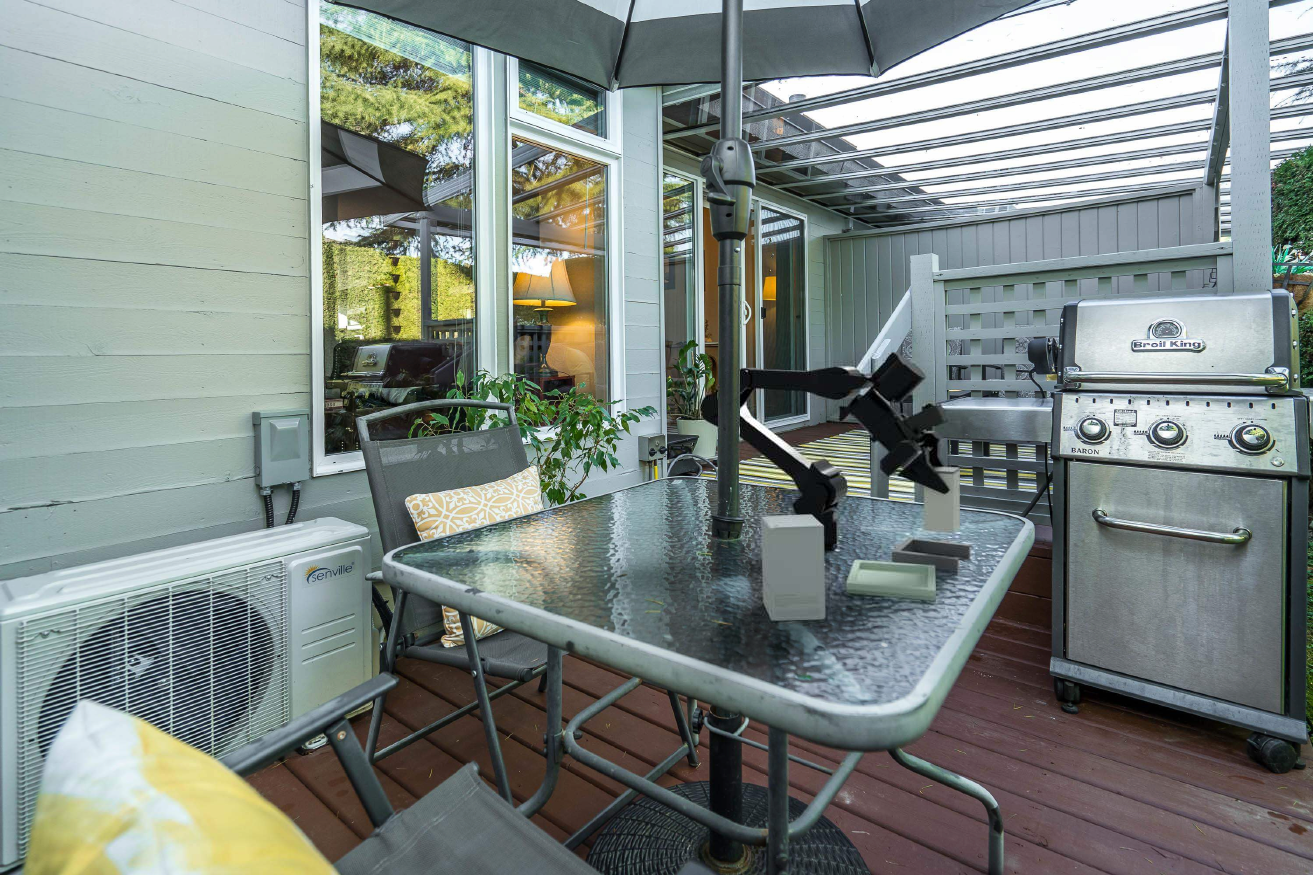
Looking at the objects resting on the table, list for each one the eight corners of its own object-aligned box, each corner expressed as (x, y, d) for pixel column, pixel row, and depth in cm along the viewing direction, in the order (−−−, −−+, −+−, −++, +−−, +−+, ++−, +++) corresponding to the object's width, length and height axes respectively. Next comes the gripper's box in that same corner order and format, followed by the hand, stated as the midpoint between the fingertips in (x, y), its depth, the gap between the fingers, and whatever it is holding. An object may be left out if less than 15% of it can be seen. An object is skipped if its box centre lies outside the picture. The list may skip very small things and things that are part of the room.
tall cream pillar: (924, 530, 108) (923, 470, 107) (930, 524, 112) (930, 466, 111) (953, 533, 106) (953, 471, 105) (959, 527, 109) (959, 467, 108)
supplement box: (826, 620, 86) (825, 525, 85) (770, 621, 87) (767, 527, 85) (814, 600, 94) (813, 513, 92) (762, 602, 94) (760, 515, 93)
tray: (846, 592, 96) (846, 582, 96) (854, 568, 107) (854, 559, 107) (935, 600, 91) (935, 590, 91) (934, 574, 102) (935, 565, 102)
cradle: (892, 563, 109) (892, 551, 109) (908, 548, 117) (908, 537, 117) (957, 571, 103) (957, 559, 103) (970, 555, 111) (970, 544, 111)
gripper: (900, 390, 101) (978, 464, 96) (930, 385, 116) (999, 449, 111) (850, 440, 107) (922, 513, 101) (885, 428, 122) (949, 492, 116)
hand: (950, 489), depth 107 cm, fingers closed on tall cream pillar, 4 cm apart
